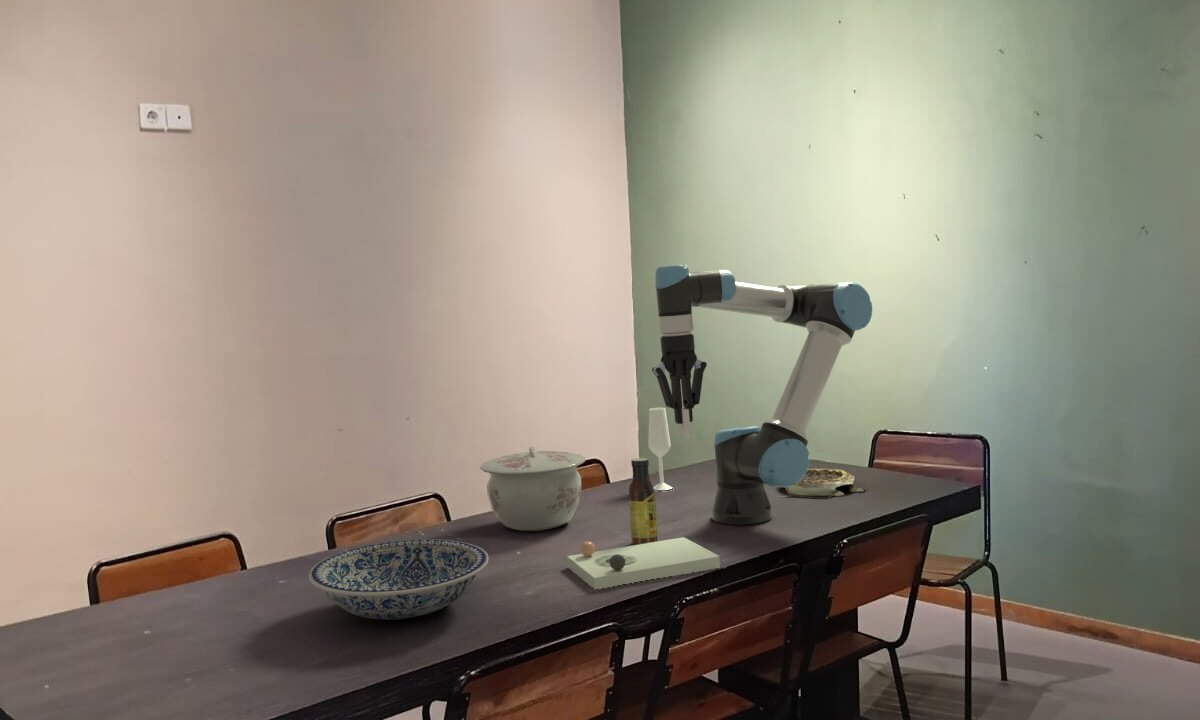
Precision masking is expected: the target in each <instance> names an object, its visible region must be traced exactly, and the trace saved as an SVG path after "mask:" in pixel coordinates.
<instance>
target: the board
mask: <svg viewBox="0 0 1200 720" xmlns="http://www.w3.org/2000/svg"><path fill="white" fill-rule="evenodd" d="M616 554H619V555H621V556H623V557H624V559H625V566H624V567H623V568H622V569H621V570H614V569H613V568H612V567H611V566H610V559H611V557H612V556H613V555H616ZM566 558H567V560H566V561H567V568H568V569H569V570H570V569H571V570H570V571H572V572H573V573H574V574H575V573H576V574H577V576H578V577H579V579H581V578H582V579H581V580H582V581H584V583H586V584H587V583H588V584H587V585H588V586H590V587H591V588H592V587H593V588H594V591H597V590H596V589H598V590H603V589H602V588H604V589H608V588H607V587H610V588H614V587H613V586H615V587H618V586H617V585H621V586H623V585H622V584H627V585H630V584H629V583H632V584H635V583H634V582H638V583H640V582H639V581H643V582H646V581H645V580H649V581H651V580H650V579H655V580H657V579H656V578H660V579H664V578H663V577H666V578H670V577H669V576H672V577H676V575H677V576H681V575H682V574H683V575H687V574H693V573H692V572H694V573H699V571H700V572H703V571H704V572H705V571H710V569H711V570H716V568H717V569H721V558H720V555H718V554H717V553H715V552H712V551H710V550H709V549H707V548H705V547H703V546H701V545H699V544H697V543H695V542H693V541H691V540H690V539H688V538H686V537H683V536H682V537H677V538H672V539H664V540H657V542H651V543H645V544H639V545H635V544H632V545H628V546H623V547H616V548H609V549H603V550H597V551H596V550H595V552H594V553H593V555H591V556H584V555H583V554H582V553H579V554H573V555H567V556H566ZM576 574H575V575H576ZM593 588H592V589H593Z"/></svg>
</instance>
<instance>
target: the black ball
mask: <svg viewBox="0 0 1200 720" xmlns="http://www.w3.org/2000/svg"><path fill="white" fill-rule="evenodd" d="M610 566H611V567H612V568H613V569H614V570H621V569H622V568H623V567H624V566H625V559H624V557H623V556H621V555H619V554H616V555H613V556H612V557H611V559H610Z"/></svg>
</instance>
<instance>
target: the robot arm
mask: <svg viewBox="0 0 1200 720" xmlns="http://www.w3.org/2000/svg"><path fill="white" fill-rule="evenodd" d="M654 287H655V292H656V299H657V300H656V301H657V302H656V303H657V311H658V312H657V313H658V325H659V333H660V334H661V336H660V349H661V350H660V351H661V359H660V363H659V364H658V365H657V366H654V367H652V368H651V371H652V374H654V375H655V377H656V379H657V382H658V385H659V387H660V392H661V395H662V398H663V401H664V404H665V407H666V408H669V409H670V408H671V409H673V410H674V421H675V424H677V425H678V429H679V430H678V432H679V437H680V438H682V439H690V438H692V435H691V434H692V433H691V423H692V422H693V421H694V419H693V418H694V417H693V416H694V415H693V409H694V408H695V406H696V405H699V404H700V400H701V393H702V387H703V377H704V372H705V370H706V367H707V365H708V364H707V362H706V361H703V360H700V359H698V356H697V354H696V352H695V348H696V346H695V335H694V333H692V332H693V331H694V324H693V322H694V321H693V310H692V307H693V308H694V307H696V308H703V309H710V310H717V311H725V312H730V313H731V312H732V313H739V314H745V315H746V314H748V315H753V316H759V317H760V316H762V317H767V318H768V317H769V318H772V320H773V321H775V322H777V323H784V324H788V325H793V326H797V327H800V328H801V327H802V328H806V329H807V332H808V334H807V337H806V339H805V341H804V344H803V347H802V348H801V351H800V353H799V356H798V358H797V359H796V362H795V364H794V367H793V369H792V371H791V374H790V376H789V379H788V381H787V383H786V384H785V385H786V386H785V388H784V390H783V393H782V394H781V397H780V399H779V401H778V404H777V406H776V408H775V411H774V413H773V415H772V418H771V419H768V420H766V421H763V422H762V425H761V427H760V426H758V425H752V426H751V425H750V426H741V427H733V428H726V429H721V430H718V431H717V432H716V433H715V435H714V445H713V448H714V453H715V455H714V456H715V467H716V468H715V470H716V486H717V487H716V488H717V490H716V493H715V495H714V501H713V504H712V509H711V519H712V521H714V522H716V523H719V524H723V525H724V524H725V525H737V526H738V525H739V526H742V525H754V524H760V523H761V524H762V523H765V522H767V521H770V520H771V519H772V518H773V508H772V505H771V501H770V500H769V497H768V494H767V492H766V489H765V487H764V485H767V486H769V487H774V488H777V487H778V488H785V487H790V486H792V485H795V484H796V483H798V482H799V481H800V480H801V479H802V478H803V477H804V475H805V474H806V472H807V470H808V469H809V467H810V462H811V461H810V460H811V459H810V457H809V455H810V452H809V449H808V448H807V446H808V444H809V439H808V437H807V434H806V432H807V430H808V427H809V425H810V422H811V419H812V417H813V415H814V413H815V410H816V408H817V406H818V404H819V401H820V399H821V396H822V395H823V391H824V389H825V387H826V385H827V382H828V380H829V377H830V374H831V372H832V371H833V368H834V365H835V363H836V360H837V358H838V356H839V354H840V351H841V348H842V347H843V346H845V345H849V344H850V343H851V342H852V339H853V337H854V335H855V331H860V330H862V329H864V328H866V327H867V326H868V324H869V323H870V322H871V319H872V315H873V304H872V301H871V297H870V295H869V293H868V291H867V290H866V289H865V288H864V287H863V286H862V285H860V284H858V283H856V282H847V281H841V282H833V283H830V282H829V283H828V282H827V283H813V284H812V283H811V284H804V285H803V284H802V285H801V284H800V285H786V284H781V285H778V286H776V287H772V286H765V285H759V284H753V283H752V284H751V283H746V282H738V281H736V278H735V275H734V273H732V272H731V271H730V270H727V269H714V270H704V271H694V272H690V271H689V266H688V265H687V264H677V265H676V264H675V265H665V266H659V267H658V268H656V269H655V286H654ZM693 368H694V370H693V376H692V369H693ZM666 371H667V373H668V375H669V379H670V385H671V388H670V385H669V382H668V378H667V375H666V374H665V373H666ZM691 378H692V383H691Z"/></svg>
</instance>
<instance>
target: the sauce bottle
mask: <svg viewBox="0 0 1200 720" xmlns="http://www.w3.org/2000/svg"><path fill="white" fill-rule="evenodd" d="M649 462H650V461H649V459H648V458H646V457H645V458H644V457H641V458H640V457H639V458H632V459H631V467H632V481H631V483H629V484H630V485H629V487H628V494H629V496H628V497H629V498H628V503H629V505H628V506H629V522H630V534H631V535H630V536H631V543H632V545H639V544H645V543H651V542H657V541H658V517H657V516H658V515H657V503H656V499H657V497H656V491H655V490H654V486H653V484H652V481H651V479H650V474H649V465H650V463H649Z"/></svg>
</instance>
